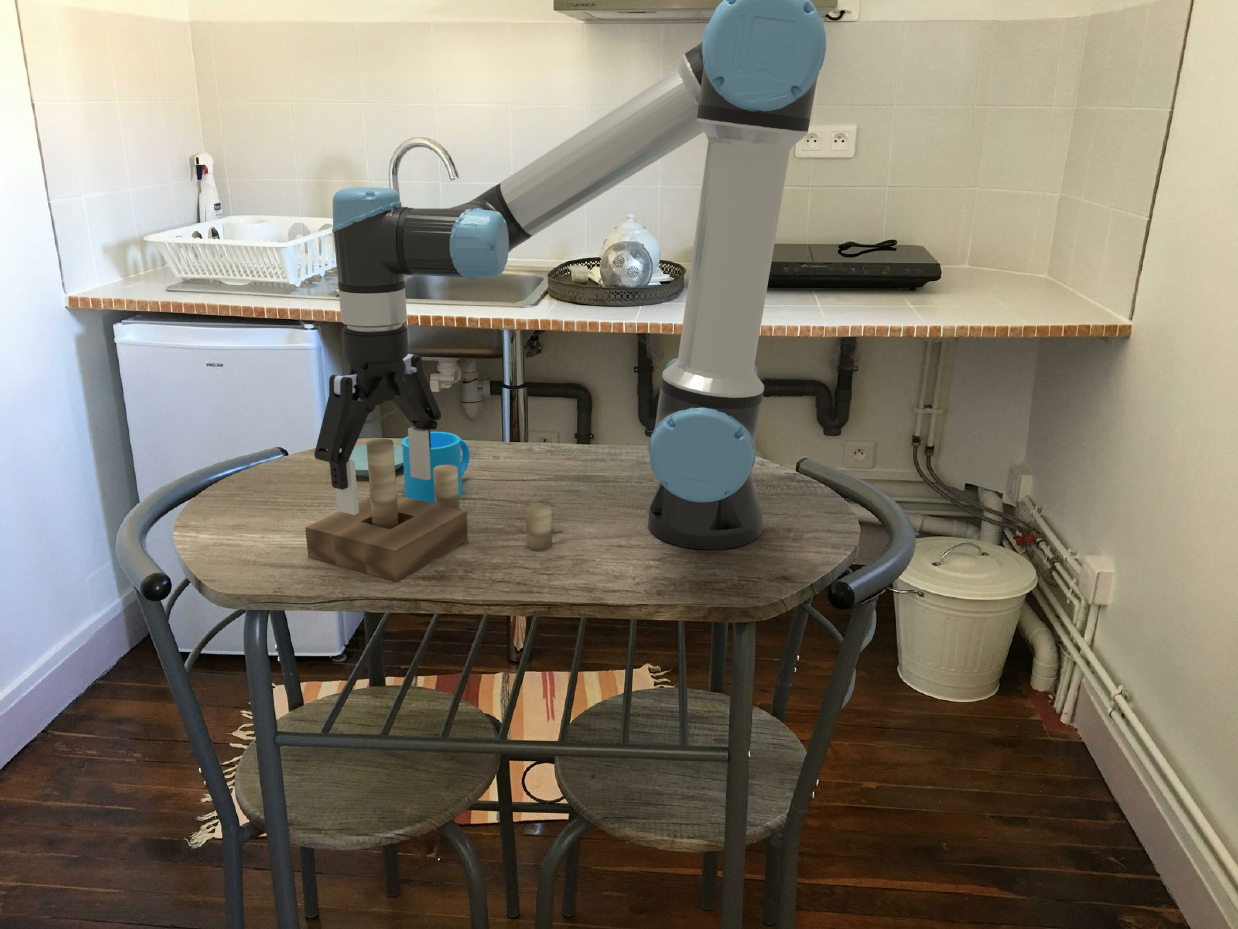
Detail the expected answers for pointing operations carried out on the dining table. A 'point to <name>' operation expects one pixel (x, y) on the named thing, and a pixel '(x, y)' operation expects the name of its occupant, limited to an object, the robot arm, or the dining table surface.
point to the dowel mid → (446, 486)
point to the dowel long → (382, 483)
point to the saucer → (362, 462)
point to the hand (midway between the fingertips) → (386, 494)
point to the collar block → (388, 538)
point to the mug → (435, 464)
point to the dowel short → (539, 527)
